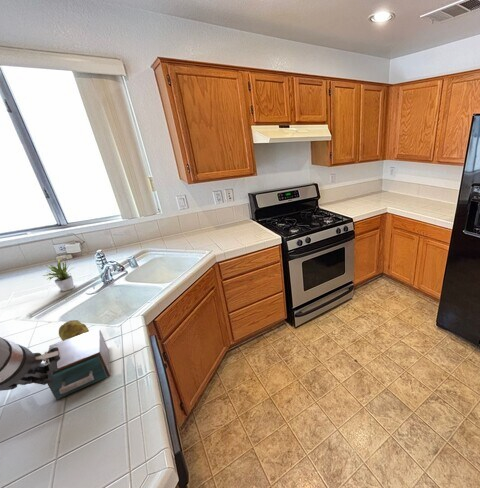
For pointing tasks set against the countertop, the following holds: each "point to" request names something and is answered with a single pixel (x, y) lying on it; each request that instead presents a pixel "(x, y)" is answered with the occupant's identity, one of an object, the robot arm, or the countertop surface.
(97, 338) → the cabinet
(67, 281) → the house plant
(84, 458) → the countertop surface
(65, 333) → the potato
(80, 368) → the drawer
